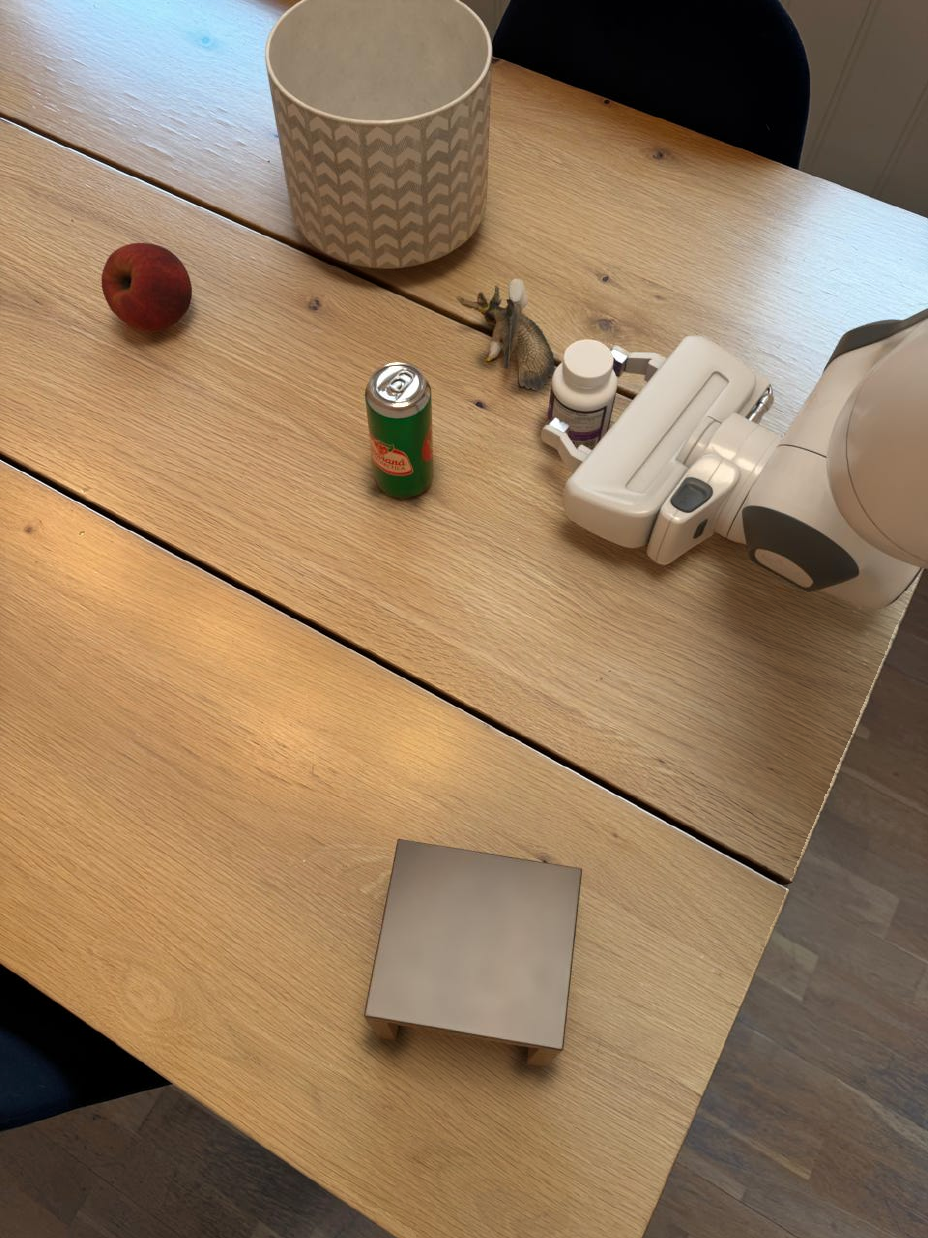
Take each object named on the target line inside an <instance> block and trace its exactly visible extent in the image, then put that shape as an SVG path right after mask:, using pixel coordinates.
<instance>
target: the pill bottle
mask: <svg viewBox="0 0 928 1238" xmlns="http://www.w3.org/2000/svg"><path fill="white" fill-rule="evenodd" d="M610 349H611V348H609V347H608V346H607V345H606V344H604V343H603V342H600V341H599V340H595V339H580V340H577V341H575V342H573V343H571V344H570V345H568V346H567V348H566V349H565V350H564V353H563V358H562V361H561V363H559V364H558V366H557V367H556V368H555V369H554V371H553V374H552V376H551V377H552V378H551V383H550V385H551V386H550V391H549V399H548V400H549V402H548V411H547V417H546V424H547V423H548V422H549V420H550V419H551V418H553V417H555V418H558V419H559V421H560V422H565V423H566V424H568V425H570V430H569V433H568V434H569V435H568V437H569V438H570V440H571V441H572V443H573V444H574V446H575V447H576V449H578V447H579V446H580V445H583V446H585V447H587V448H589V449H591V450H593V449H594V447H595V446H596V445H597V444H598V442H599V441H600V440H601V439H602V438H603V436H604V435H605V434H606V433H607V431H608V430H609V429H610V424H611V419H612V414H613V409H614V406H615V401H616V396H617V392H618V391H617V390H618V377H617V376H616V375H615V373H614V371H613V355H612V352H611V351H610ZM556 451H557V452H558V450H556Z"/></svg>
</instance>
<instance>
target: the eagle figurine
mask: <svg viewBox="0 0 928 1238" xmlns="http://www.w3.org/2000/svg"><path fill="white" fill-rule="evenodd" d="M526 289H527V288H526V286H525V283H524V282H523V280H521V279H520V278H513V279H511V281H510V282H509V283H508V298H507V299H506V304H507V305H506V307H501V306H500V305H501V304H502V301H503V299H502V298H501V297H500V288H499V286H498V285H497V284H495V285H494V294H493V296H492V298H490V301H489V303H488V300H487V298H486V296H485V294H484V293H483V292H478V293H477V296H476V301H471V300H468V299H465V298H464V297H462V296H460V295H458V296H456V300H457V301H458V302H459V303H460V305H462V306H463V307H465V308H467V309H473V310H474V311H476V312H478V313H480V314H481V315H482V316H484V320H485V321H486V323H488V324H489V325H491V326H492V327H494V328H493V331H492V335H491V342H490V346H489V351H488V357H487V358H486V359H485V361H486V362H491V361H492V360H493V359H495V358H497V357H498V356H499V354H500V352H501V350H502V349H503V354H504V363H503V368H504V370H505V371H507V370H508V369H509V367H510V359H511V354H512V353H513V351H514V352H515V355H516V359H517V363H518V383H519V384H518V385H519V386H520V387H525V389H526V390H533V391H538V389H539V390H542V389H543V388H544V385H547V384H548V383H549V377H550V378H551V377H553V374H552V373H554V372H555V358H554V352H553V351H552V347H551V345H550V344H549V342H548V339H547V338H546V336H545V334H544V332H543V331H542V329H541V328H540V327H539V325H537V323H536V322H535V321H533V320H532V319H530V318H529V317H527V316H526V315H525V314H524V313H523V311H522V310H523V309H525V307H526V306H527V305H528V302H529V300H528V294H527V290H526Z"/></svg>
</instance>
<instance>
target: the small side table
mask: <svg viewBox="0 0 928 1238" xmlns="http://www.w3.org/2000/svg"><path fill="white" fill-rule="evenodd" d="M582 876H583V869H582V868H581V867H575V866H570V865H563V864H558V863H551V862H545V861H538V860H532V859H528V858H519V857H514V856H508V855H501V854H496V853H489V852H484V851H483V852H482V851H477V850H470V849H464V848H459V847H452V846H445V845H439V844H434V843H426V842H420V841H414V840H408V839H400V838H398V839H397V841H396V846H395V851H394V857H393V862H392V866H391V873H390V876H389V877H390V878H389V882H388V887H387V888H388V889H387V892H386V898H385V904H384V908H383V914H382V919H381V924H380V930H379V934H378V940H377V945H376V950H375V955H374V961H373V965H372V971H371V976H370V981H369V986H368V992H367V997H366V1003H365V1007H364V1011H363V1012H364V1013H363V1017H364V1018H365V1020H366V1021H367V1023H368V1025H369V1026H370V1027H371V1029H372V1030H373V1032H374V1034H375V1035H376V1036H377V1038H380V1039H385V1040H392V1041H396V1040H397V1036H398V1030H399V1026H402V1027H408V1028H414V1029H419V1030H426V1031H432V1032H436V1033H437V1032H438V1033H443V1034H449V1035H455V1036H460V1037H466V1038H471V1039H478V1040H485V1041H489V1042H495V1043H501V1044H507V1045H513V1046H519V1047H523V1048H527V1057H526V1064H528V1065H534V1066H541V1067H545V1066H547V1065H548V1064H549V1063H550V1062H551V1061H552V1060H554V1059H556V1057H557V1056H558V1055H560V1054H561V1053H562V1052H563V1050H564V1045H565V1038H566V1037H565V1035H566V1027H567V1020H568V1019H567V1017H568V1007H569V1000H570V999H569V998H570V989H571V981H572V972H573V971H572V970H573V961H574V952H575V944H576V943H575V942H576V935H577V933H576V932H577V925H578V923H577V922H578V913H579V903H580V897H581V896H580V894H581V885H582Z"/></svg>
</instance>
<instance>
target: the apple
mask: <svg viewBox="0 0 928 1238" xmlns="http://www.w3.org/2000/svg"><path fill="white" fill-rule="evenodd" d="M101 288H102V293H103V297H104V298H105V301H106V303H107V305H108V307H109V308H110V310H111V311H112V312H113V314H114V315H115V316H116V318H118V319H119V320H120V321H121V322H123V323H124V324H125V325H127V326H129V328H132V329H134V330H138V331H141V332H144V333H159V332H161V331H164V330H167V329H169V328H171V327H173V326H174V325H176V324H177V323H178V322H180V320H182V318H183V317H184V316H185V315H186V314H187V311H188V310H189V307H190V305H191V302H192V296H193V286H192V281H191V279H190V275H189V273H188V270H187V268H186V266H185V265H184V264H183V262H182V261H181V260H180V258H178V256H177V255H175V253H173V252H172V251H171V250H169V249H167V248H166V247H164V246H161V245H159V244H155V243H150V242H149V243H148V242H133V243H129V244H125V245H123V246H120V247H119V248H117V249H115V250H114V251H112V253H111V254H110V255H109V256H108V258H107V260H106V261H105V264H104V266H103V269H102V273H101Z"/></svg>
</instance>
